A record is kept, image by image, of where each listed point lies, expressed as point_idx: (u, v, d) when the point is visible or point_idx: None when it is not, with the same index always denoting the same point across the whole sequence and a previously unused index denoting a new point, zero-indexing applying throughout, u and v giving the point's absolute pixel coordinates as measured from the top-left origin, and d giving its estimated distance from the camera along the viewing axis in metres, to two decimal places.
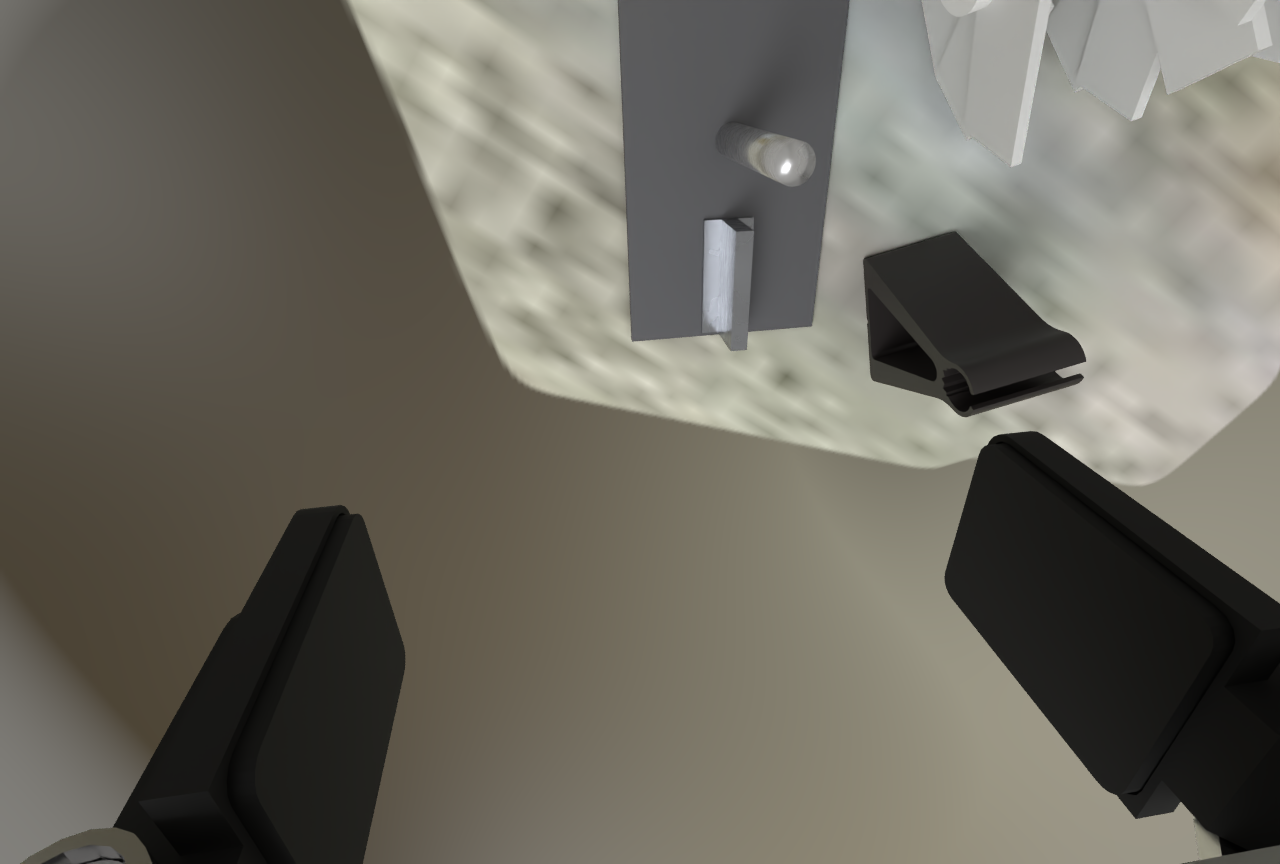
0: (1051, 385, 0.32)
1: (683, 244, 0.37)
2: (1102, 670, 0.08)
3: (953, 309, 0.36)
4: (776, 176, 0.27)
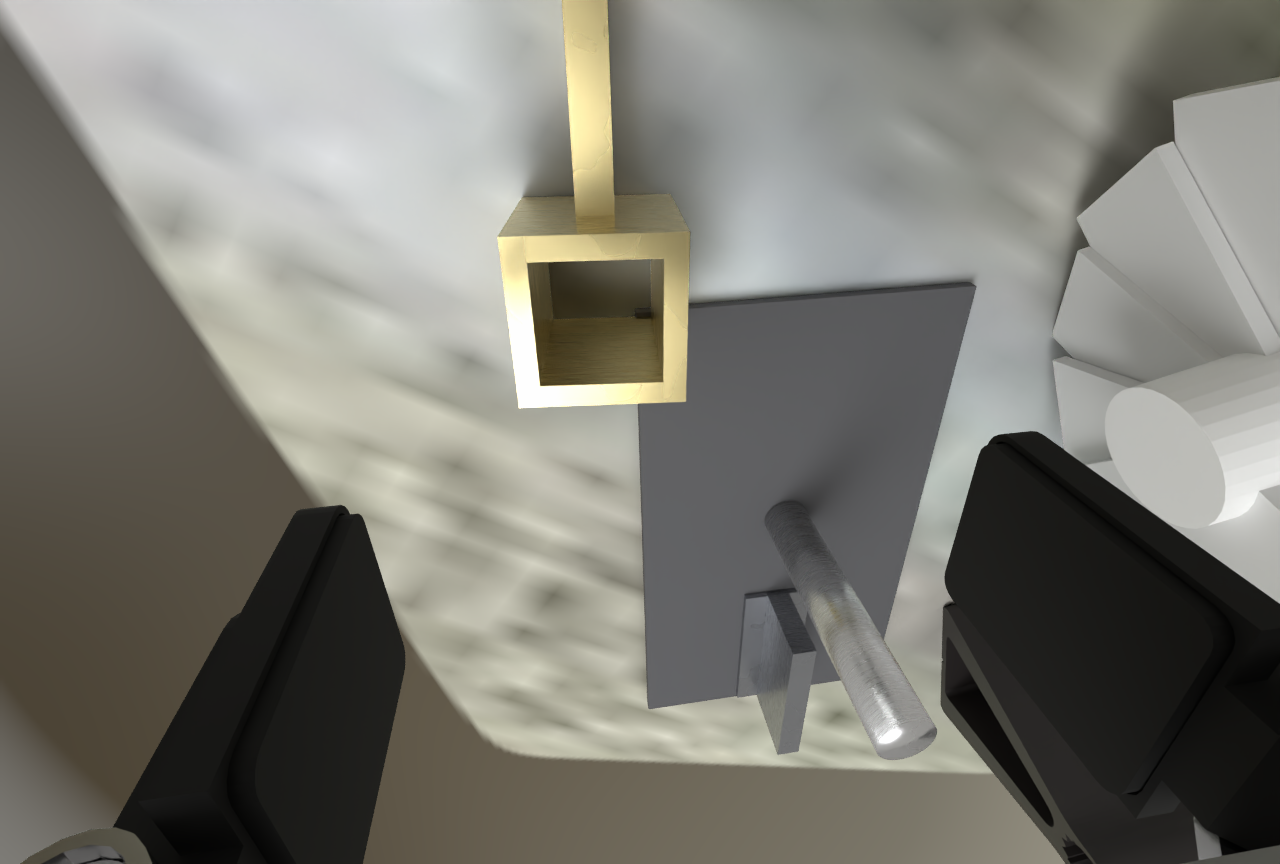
0: None
1: (717, 618, 0.29)
2: (1101, 671, 0.08)
3: None
4: (877, 751, 0.18)
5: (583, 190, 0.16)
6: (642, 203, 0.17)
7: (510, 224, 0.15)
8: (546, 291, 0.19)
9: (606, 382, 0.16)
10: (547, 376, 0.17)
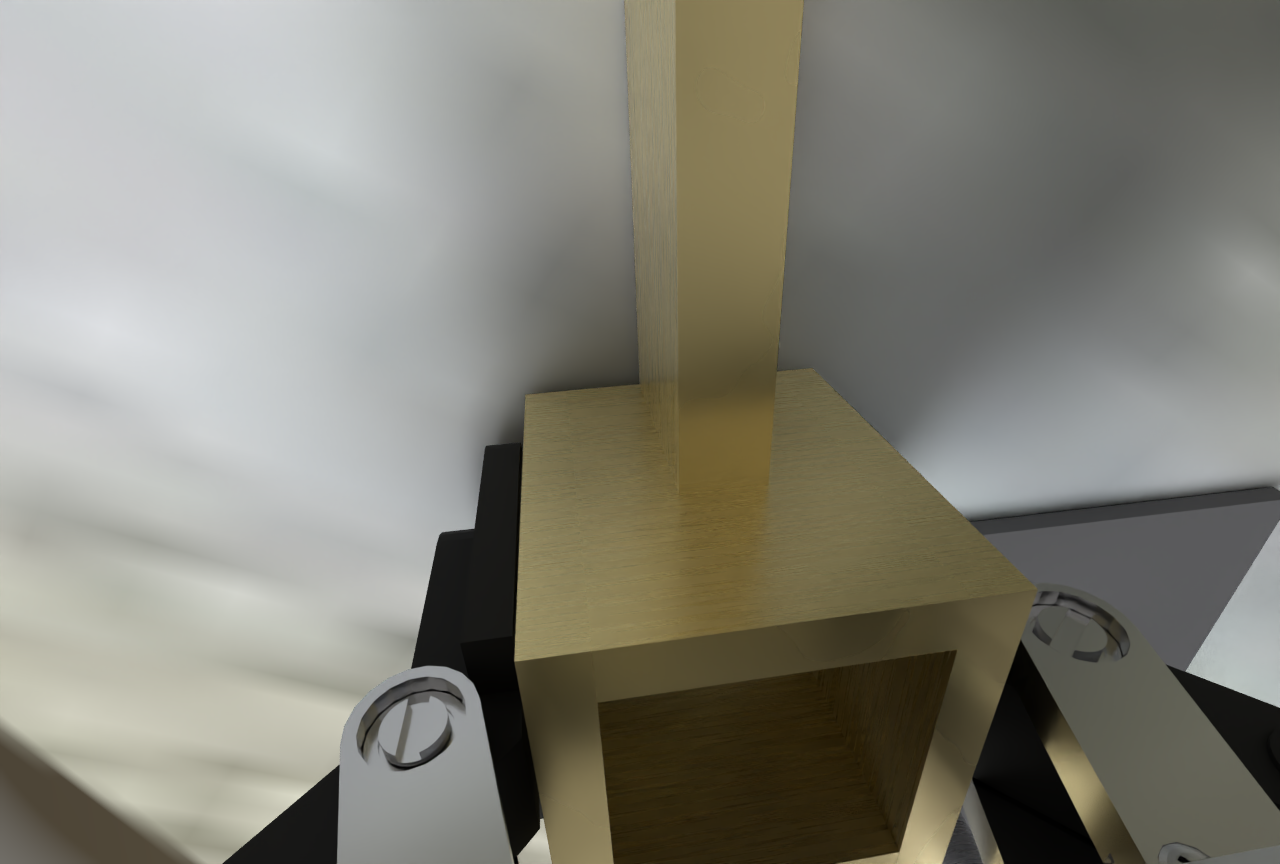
0: None
1: None
2: None
3: None
4: None
5: (700, 442, 0.06)
6: (787, 414, 0.08)
7: (532, 554, 0.06)
8: None
9: None
10: (624, 842, 0.07)
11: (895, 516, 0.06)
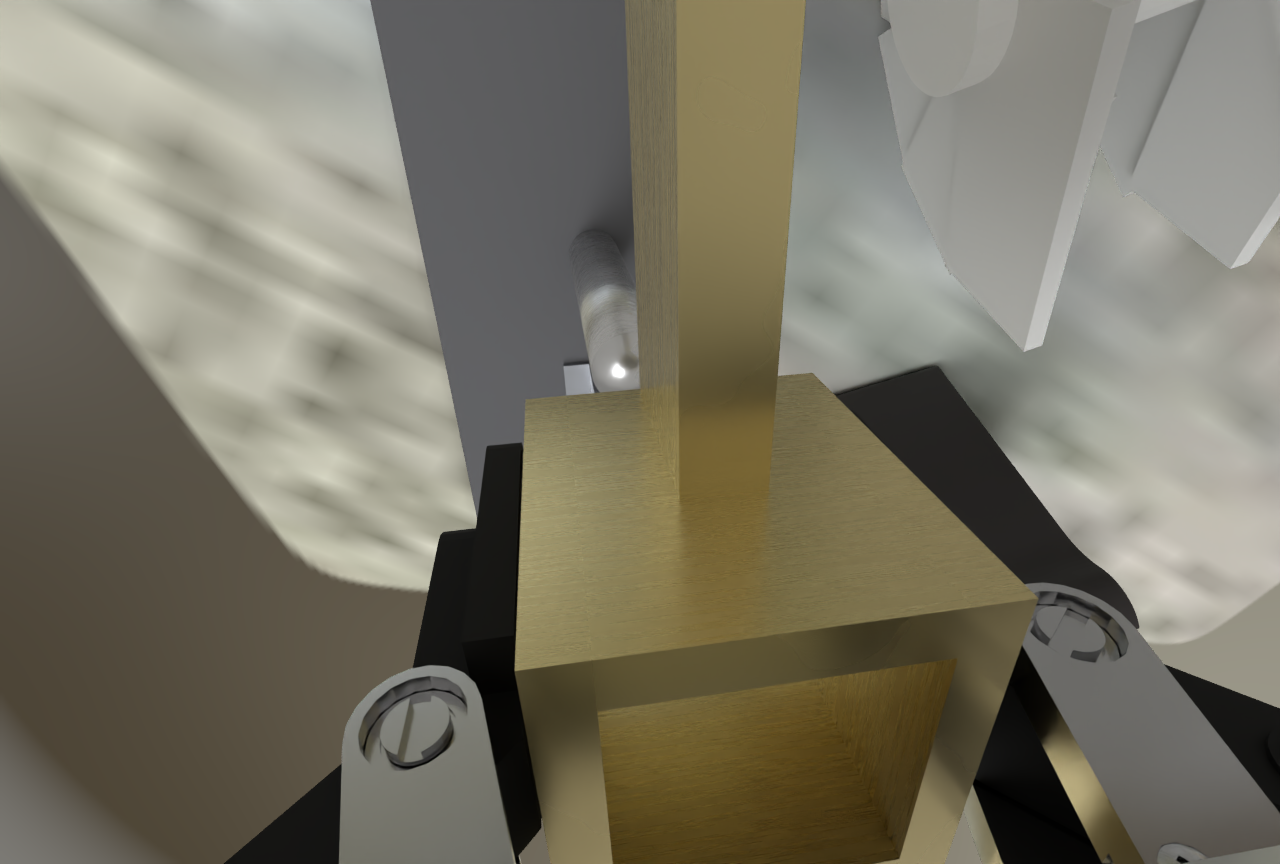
0: None
1: (537, 396, 0.25)
2: None
3: None
4: (599, 389, 0.15)
5: (700, 449, 0.06)
6: (788, 419, 0.08)
7: (533, 561, 0.06)
8: None
9: None
10: (624, 849, 0.07)
11: (895, 523, 0.06)
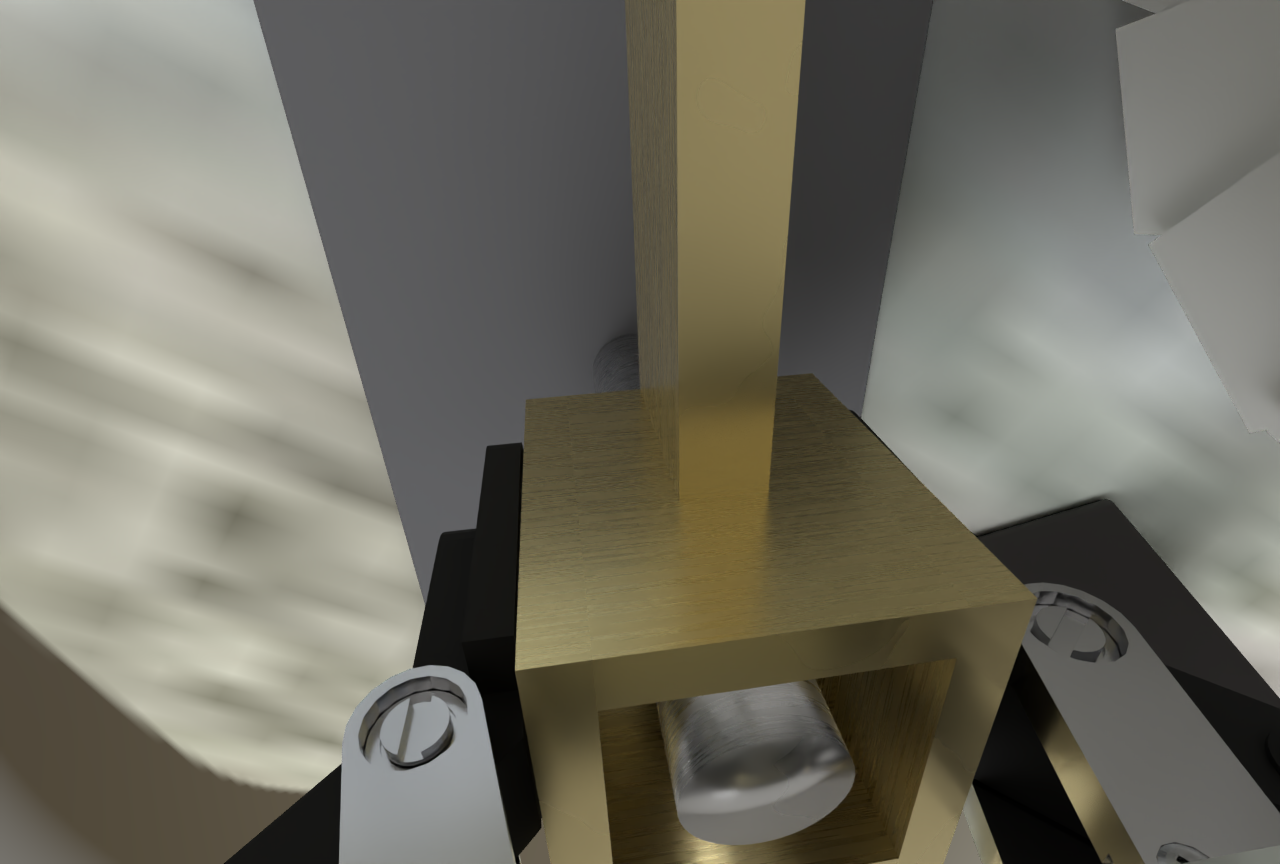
0: None
1: None
2: None
3: None
4: None
5: (700, 449, 0.07)
6: (787, 420, 0.08)
7: (533, 561, 0.06)
8: None
9: None
10: (624, 848, 0.07)
11: (895, 524, 0.06)
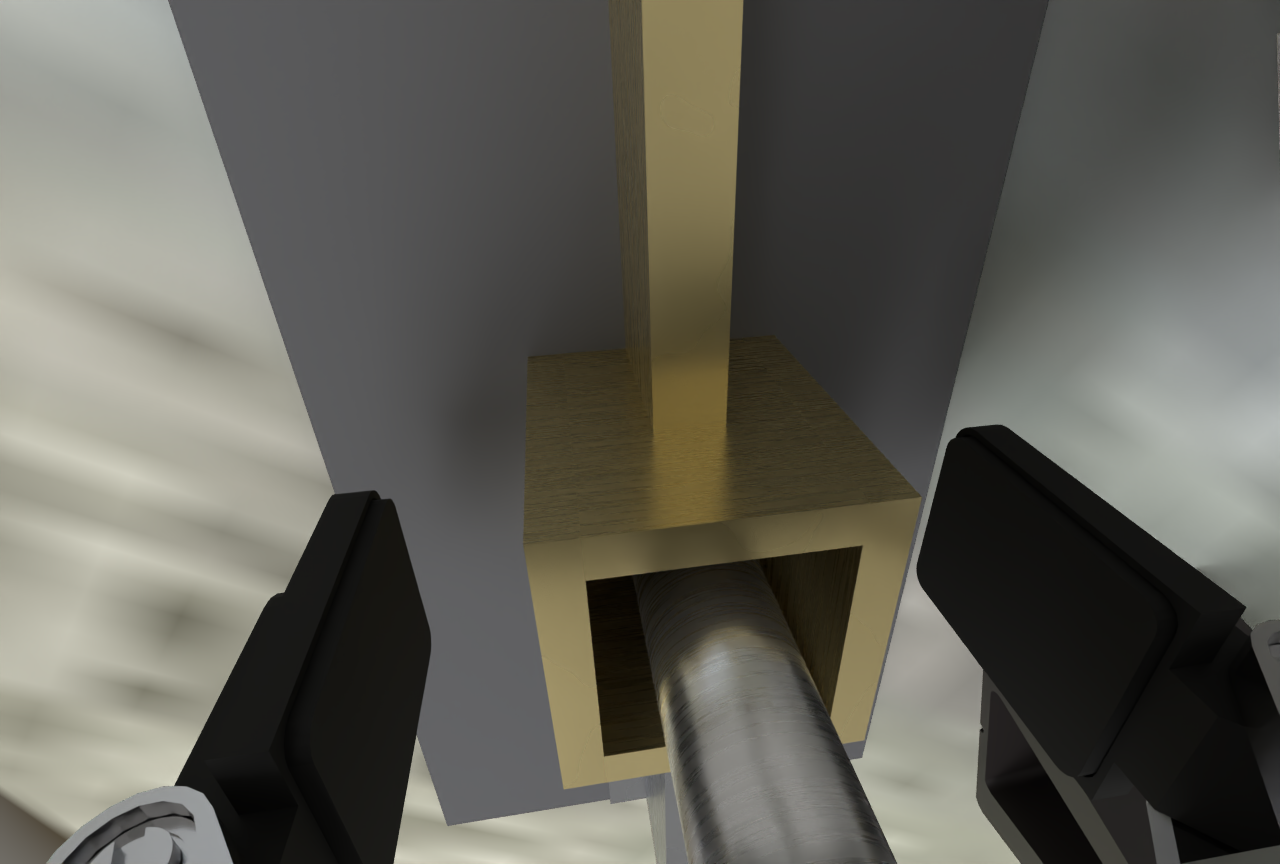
0: None
1: None
2: (1059, 656, 0.08)
3: None
4: None
5: (669, 390, 0.08)
6: (748, 372, 0.10)
7: (535, 475, 0.08)
8: None
9: None
10: (610, 715, 0.09)
11: (823, 448, 0.08)
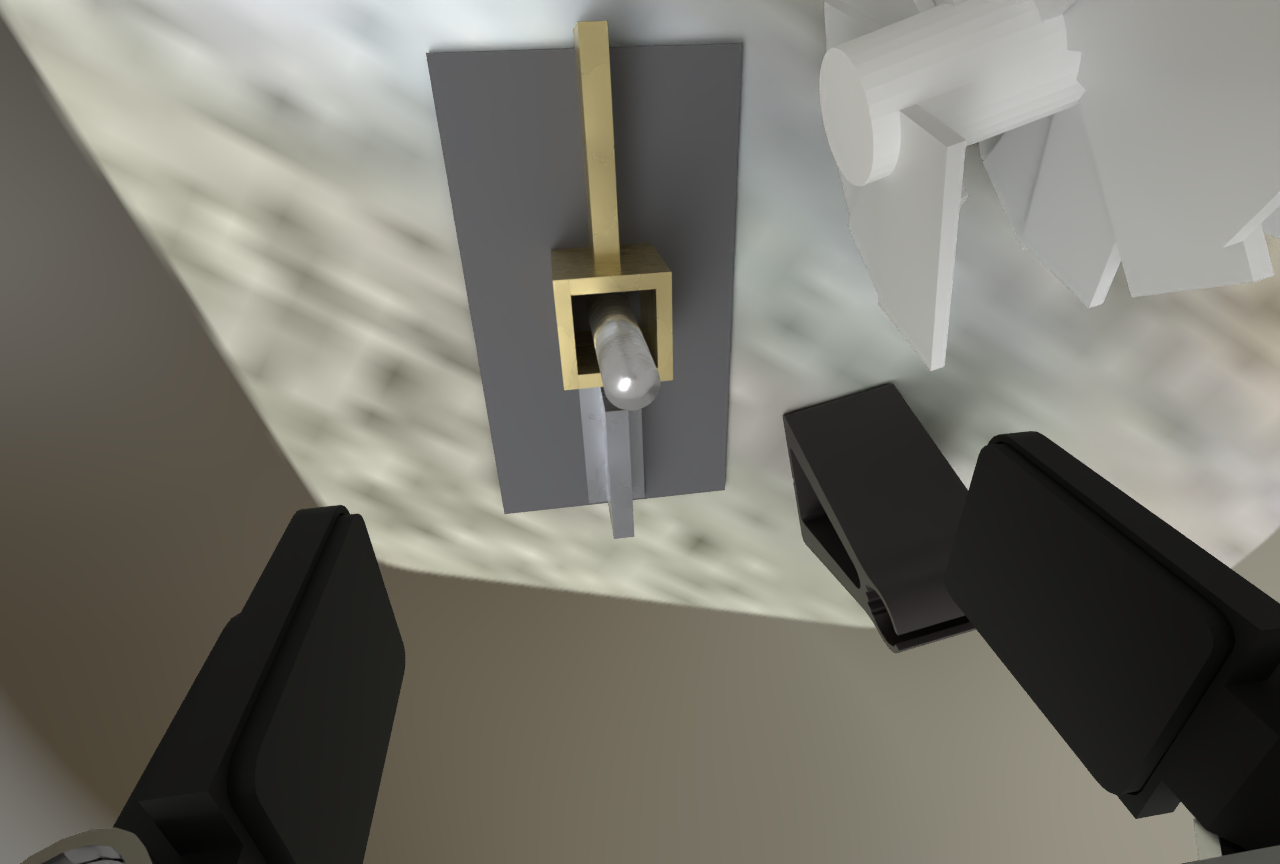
0: None
1: (556, 408, 0.31)
2: (1102, 670, 0.08)
3: (882, 498, 0.29)
4: (609, 399, 0.20)
5: (599, 247, 0.24)
6: (634, 251, 0.26)
7: (555, 271, 0.24)
8: None
9: None
10: (580, 368, 0.25)
11: (649, 265, 0.24)
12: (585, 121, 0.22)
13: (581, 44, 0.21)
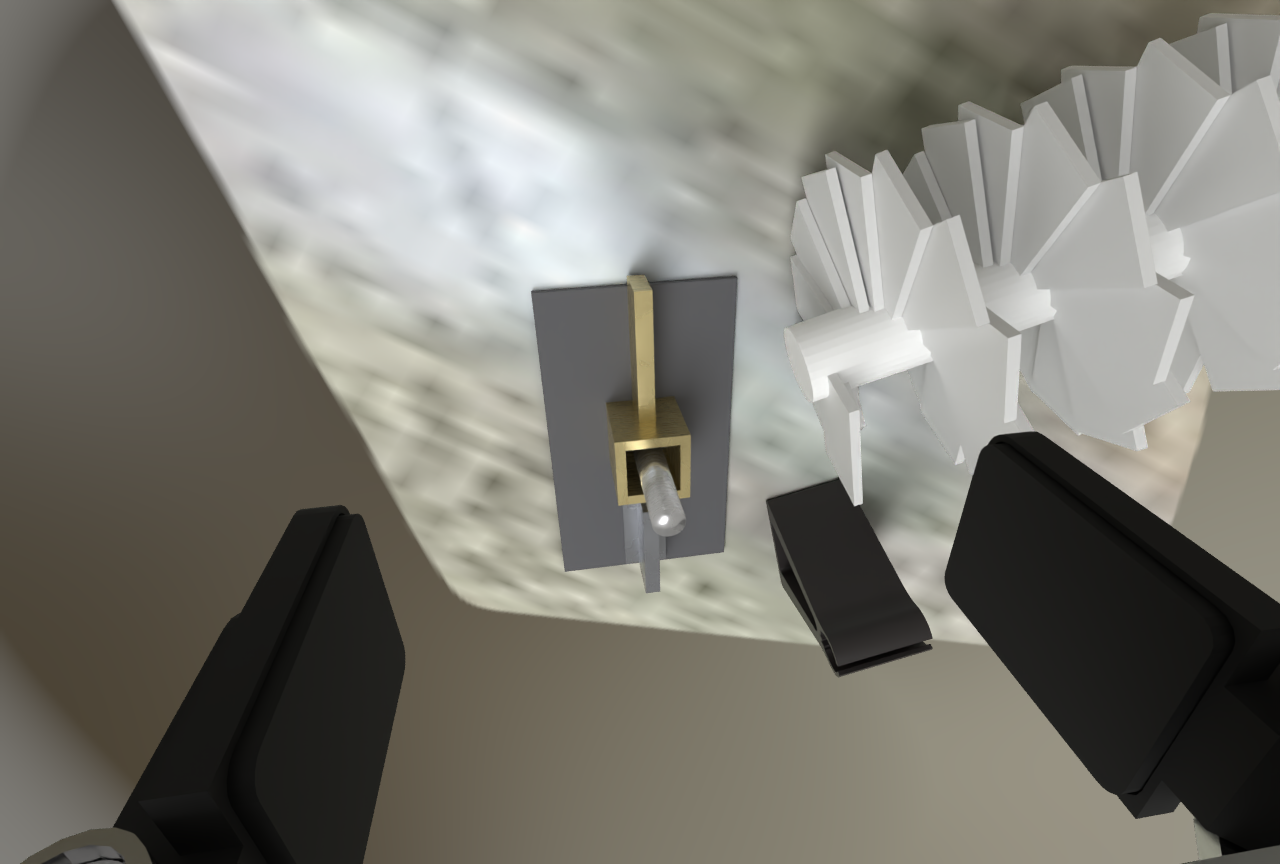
0: (905, 655, 0.38)
1: (605, 501, 0.43)
2: (1102, 670, 0.08)
3: (833, 568, 0.42)
4: (654, 530, 0.33)
5: (642, 413, 0.37)
6: (664, 407, 0.39)
7: (614, 431, 0.36)
8: None
9: None
10: (629, 490, 0.38)
11: (675, 426, 0.37)
12: (636, 343, 0.35)
13: (635, 303, 0.34)
